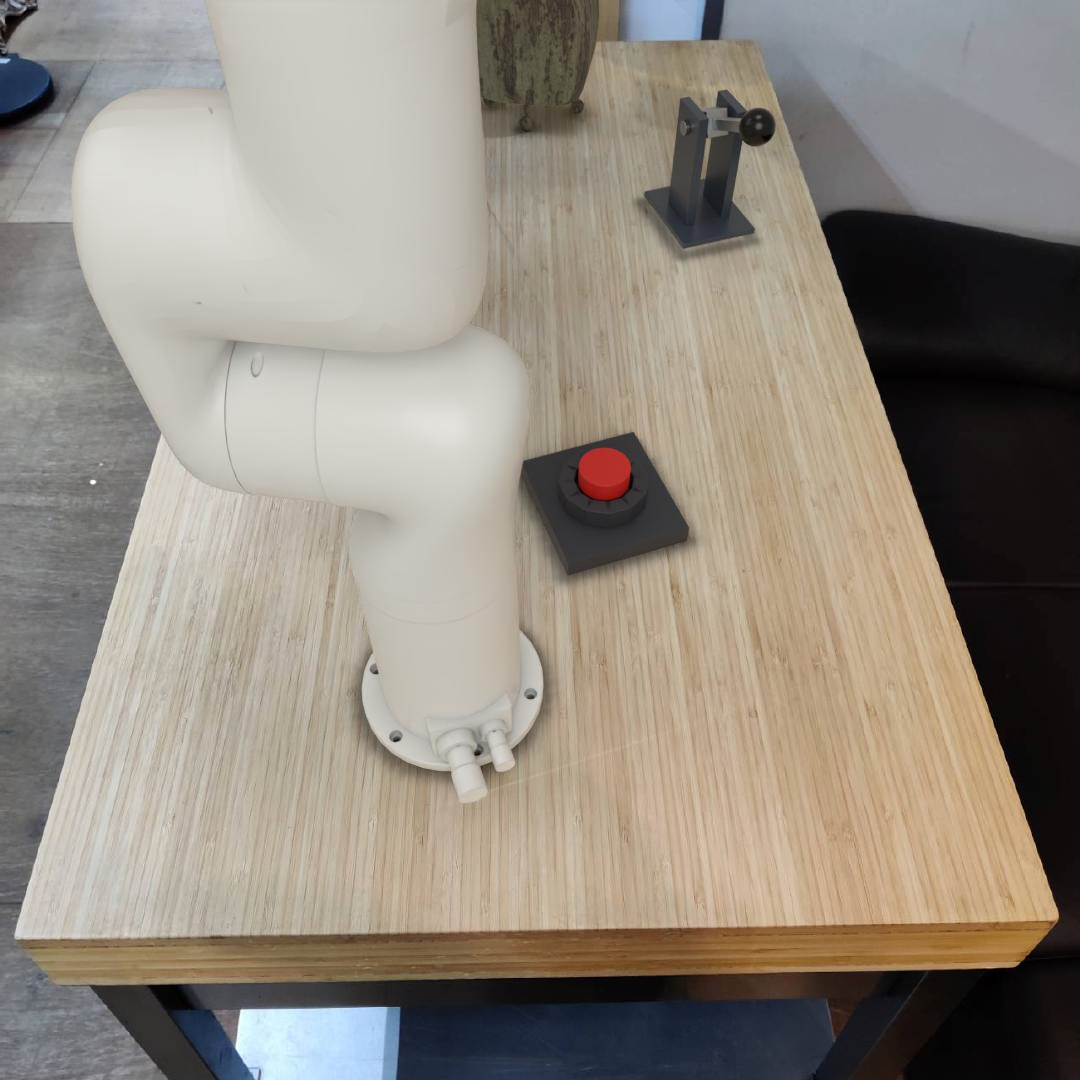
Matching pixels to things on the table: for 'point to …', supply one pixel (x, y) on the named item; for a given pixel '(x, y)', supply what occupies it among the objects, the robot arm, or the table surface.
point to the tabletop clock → (535, 51)
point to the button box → (603, 508)
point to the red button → (604, 474)
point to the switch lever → (742, 125)
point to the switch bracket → (702, 203)
